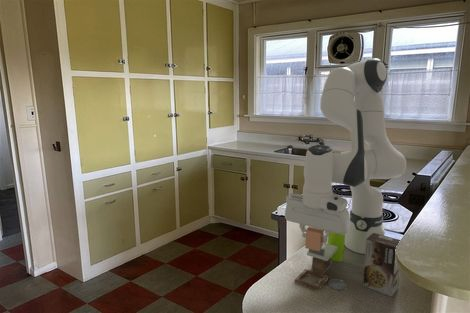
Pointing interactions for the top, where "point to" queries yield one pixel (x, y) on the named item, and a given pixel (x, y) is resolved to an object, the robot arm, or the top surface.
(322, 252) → the sliding lid
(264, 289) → the top surface
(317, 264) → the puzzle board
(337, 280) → the slate coaster
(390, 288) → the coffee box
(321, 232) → the terracotta block
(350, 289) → the top surface
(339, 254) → the soap dispenser
